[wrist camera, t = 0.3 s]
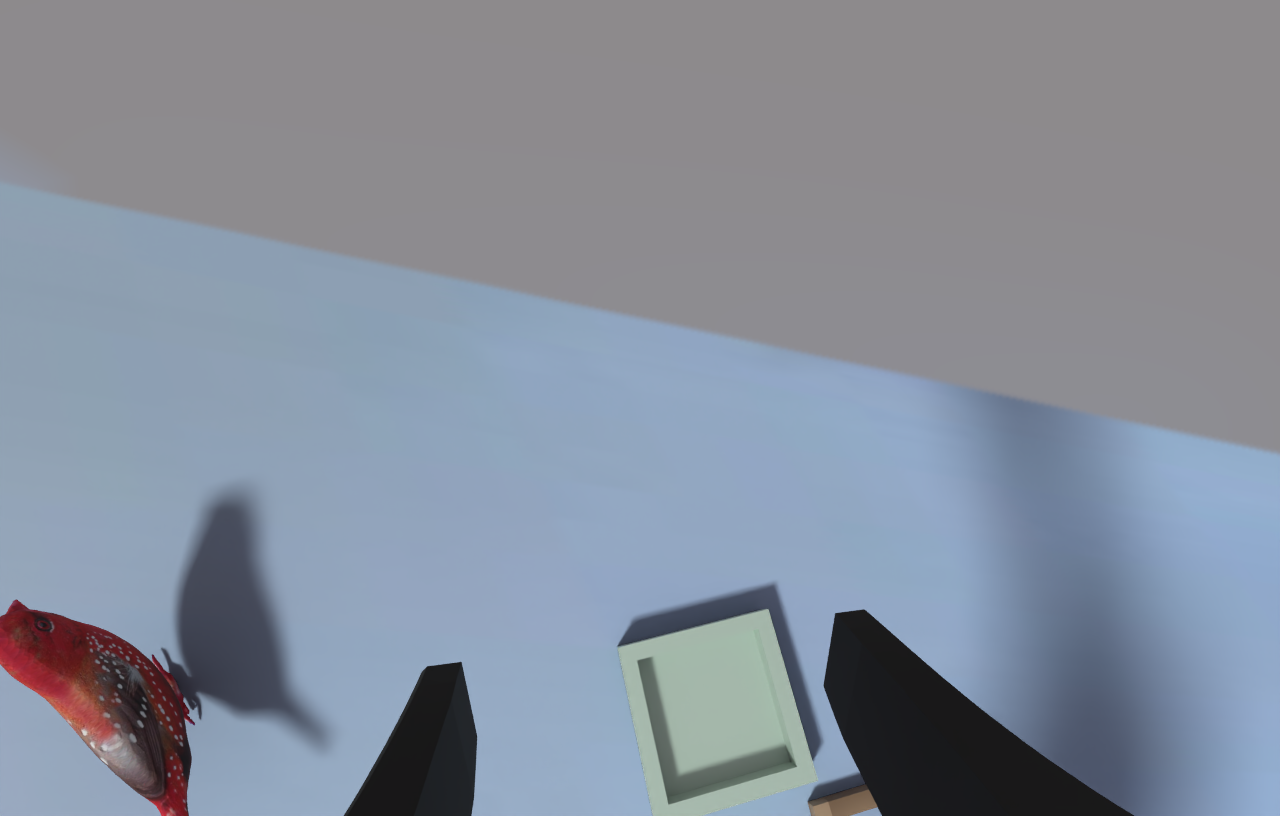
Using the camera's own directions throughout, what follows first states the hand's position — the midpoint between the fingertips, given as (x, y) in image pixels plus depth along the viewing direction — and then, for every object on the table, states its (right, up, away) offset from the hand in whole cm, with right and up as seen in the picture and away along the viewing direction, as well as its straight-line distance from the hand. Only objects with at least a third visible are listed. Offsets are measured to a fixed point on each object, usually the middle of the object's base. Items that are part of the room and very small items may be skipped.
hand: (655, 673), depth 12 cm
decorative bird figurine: (-28, -14, +26) cm, 40 cm away
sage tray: (+4, -14, +27) cm, 31 cm away
